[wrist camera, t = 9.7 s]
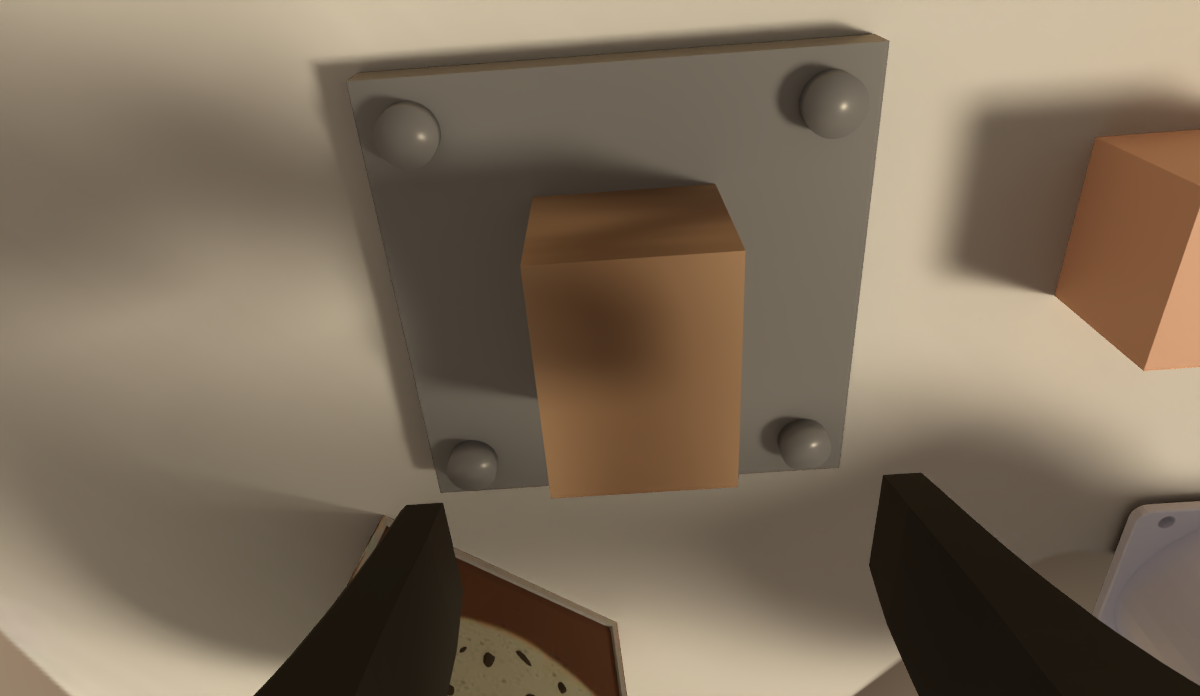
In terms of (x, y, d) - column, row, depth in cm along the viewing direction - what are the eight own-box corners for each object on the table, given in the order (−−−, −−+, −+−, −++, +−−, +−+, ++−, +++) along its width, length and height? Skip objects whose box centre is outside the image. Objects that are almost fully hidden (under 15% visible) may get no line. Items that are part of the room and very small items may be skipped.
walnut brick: (715, 184, 18) (745, 250, 15) (713, 391, 21) (737, 487, 18) (532, 196, 18) (520, 266, 15) (556, 401, 21) (550, 498, 18)
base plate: (874, 33, 18) (899, 45, 16) (829, 446, 24) (845, 480, 22) (357, 72, 18) (338, 87, 16) (445, 471, 24) (437, 506, 22)
